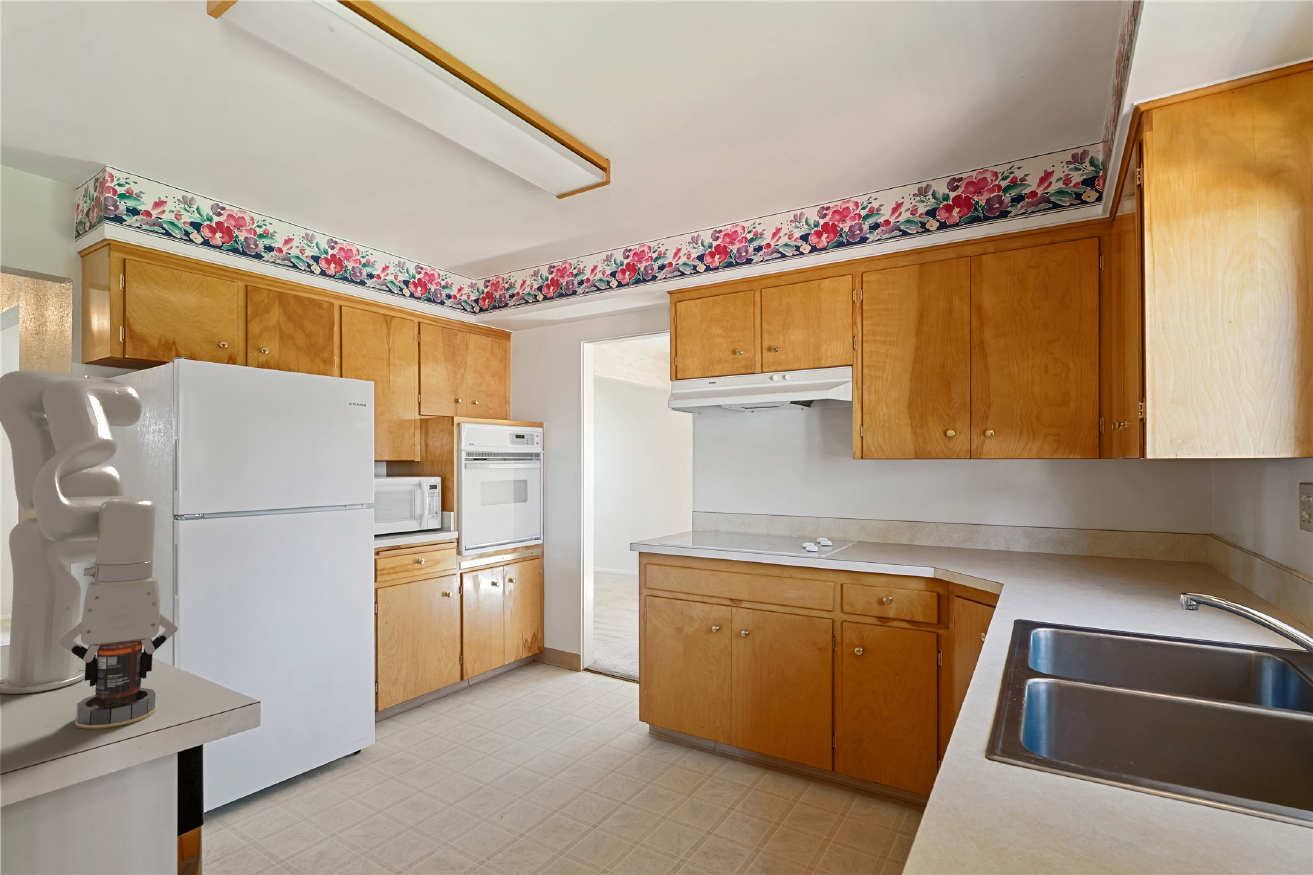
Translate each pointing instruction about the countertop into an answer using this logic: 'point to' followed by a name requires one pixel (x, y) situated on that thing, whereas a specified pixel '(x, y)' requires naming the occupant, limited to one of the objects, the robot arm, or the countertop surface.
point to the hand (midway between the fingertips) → (118, 679)
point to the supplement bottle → (118, 670)
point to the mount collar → (115, 710)
